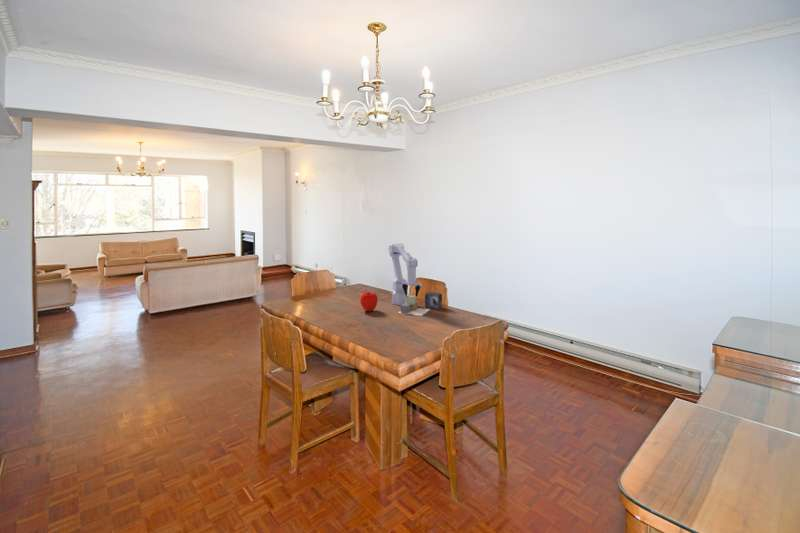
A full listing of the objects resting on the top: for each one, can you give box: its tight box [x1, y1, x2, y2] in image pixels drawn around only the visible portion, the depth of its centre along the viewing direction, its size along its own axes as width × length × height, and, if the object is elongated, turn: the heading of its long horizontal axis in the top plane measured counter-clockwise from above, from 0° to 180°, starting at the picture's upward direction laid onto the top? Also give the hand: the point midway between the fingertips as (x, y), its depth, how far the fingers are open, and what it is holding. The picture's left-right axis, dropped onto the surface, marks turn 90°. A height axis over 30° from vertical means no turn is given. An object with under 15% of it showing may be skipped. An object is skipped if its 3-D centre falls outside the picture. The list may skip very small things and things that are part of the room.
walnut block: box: [406, 302, 419, 311], centre depth 273 cm, size 7×7×4 cm
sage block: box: [406, 295, 417, 305], centre depth 273 cm, size 5×5×5 cm
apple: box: [359, 291, 379, 312], centre depth 269 cm, size 12×12×13 cm
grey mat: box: [398, 307, 431, 317], centre depth 269 cm, size 17×16×1 cm
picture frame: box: [424, 291, 443, 310], centre depth 278 cm, size 11×6×10 cm, turn 62°
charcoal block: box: [400, 304, 410, 314], centre depth 266 cm, size 5×5×5 cm
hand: (411, 295), depth 272 cm, fingers open, 7 cm apart
